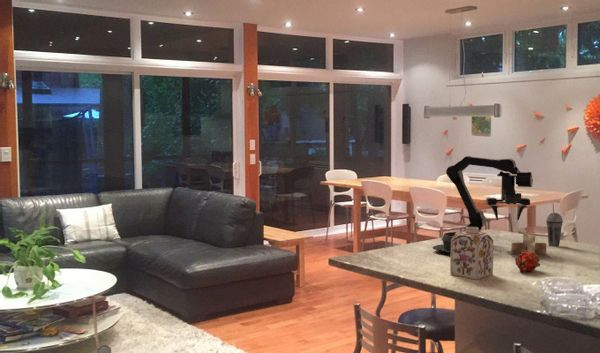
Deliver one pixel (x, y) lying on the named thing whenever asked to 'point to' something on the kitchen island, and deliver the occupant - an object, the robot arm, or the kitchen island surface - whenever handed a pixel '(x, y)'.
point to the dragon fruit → (527, 261)
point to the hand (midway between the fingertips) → (507, 220)
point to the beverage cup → (554, 228)
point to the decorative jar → (471, 254)
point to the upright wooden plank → (529, 241)
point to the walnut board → (521, 247)
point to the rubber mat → (538, 255)
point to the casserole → (445, 242)
